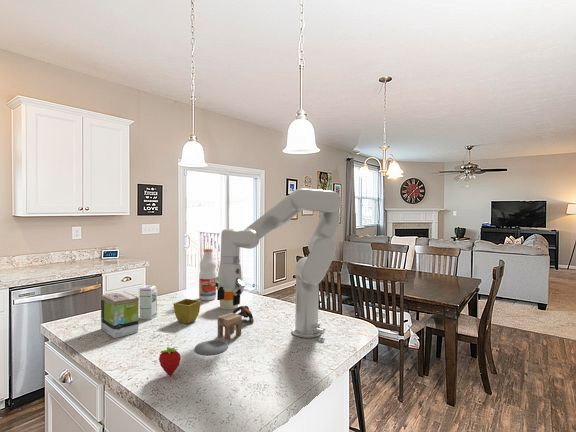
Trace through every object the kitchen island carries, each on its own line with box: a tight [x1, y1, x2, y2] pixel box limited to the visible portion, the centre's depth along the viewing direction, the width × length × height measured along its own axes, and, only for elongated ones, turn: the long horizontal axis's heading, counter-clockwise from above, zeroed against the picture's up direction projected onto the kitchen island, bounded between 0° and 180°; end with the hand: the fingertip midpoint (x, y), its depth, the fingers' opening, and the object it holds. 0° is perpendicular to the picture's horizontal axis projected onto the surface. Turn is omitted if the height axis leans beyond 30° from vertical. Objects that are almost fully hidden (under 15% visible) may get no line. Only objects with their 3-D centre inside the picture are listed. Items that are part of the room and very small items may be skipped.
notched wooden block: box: [217, 312, 243, 341], centre depth 135 cm, size 6×8×8 cm
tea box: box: [100, 291, 140, 339], centre depth 139 cm, size 15×10×15 cm
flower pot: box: [173, 298, 202, 324], centre depth 151 cm, size 9×9×9 cm
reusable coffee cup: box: [219, 288, 239, 310], centre depth 174 cm, size 13×13×15 cm
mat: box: [194, 339, 229, 356], centre depth 124 cm, size 12×12×1 cm
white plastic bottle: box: [198, 248, 217, 302], centre depth 189 cm, size 9×9×28 cm
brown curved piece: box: [231, 305, 254, 325], centre depth 153 cm, size 12×10×8 cm
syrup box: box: [138, 284, 158, 320], centre depth 156 cm, size 6×6×14 cm
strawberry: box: [158, 344, 182, 377], centre depth 103 cm, size 6×8×10 cm
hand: (228, 302), depth 135 cm, fingers open, 9 cm apart
